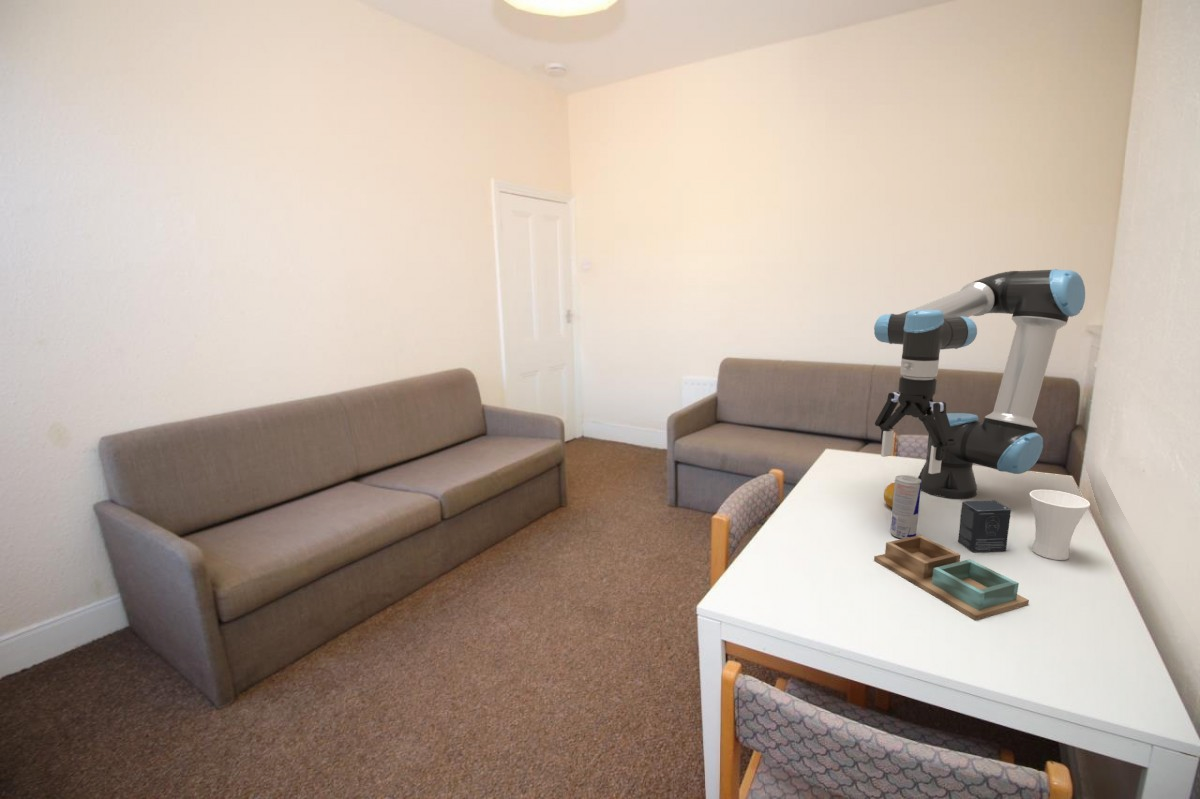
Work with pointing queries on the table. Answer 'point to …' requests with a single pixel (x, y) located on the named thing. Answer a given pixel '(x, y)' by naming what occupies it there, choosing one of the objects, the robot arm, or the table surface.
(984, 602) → the socket board
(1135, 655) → the table surface
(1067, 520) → the cup
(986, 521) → the box
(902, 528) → the beverage can
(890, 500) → the fruit
